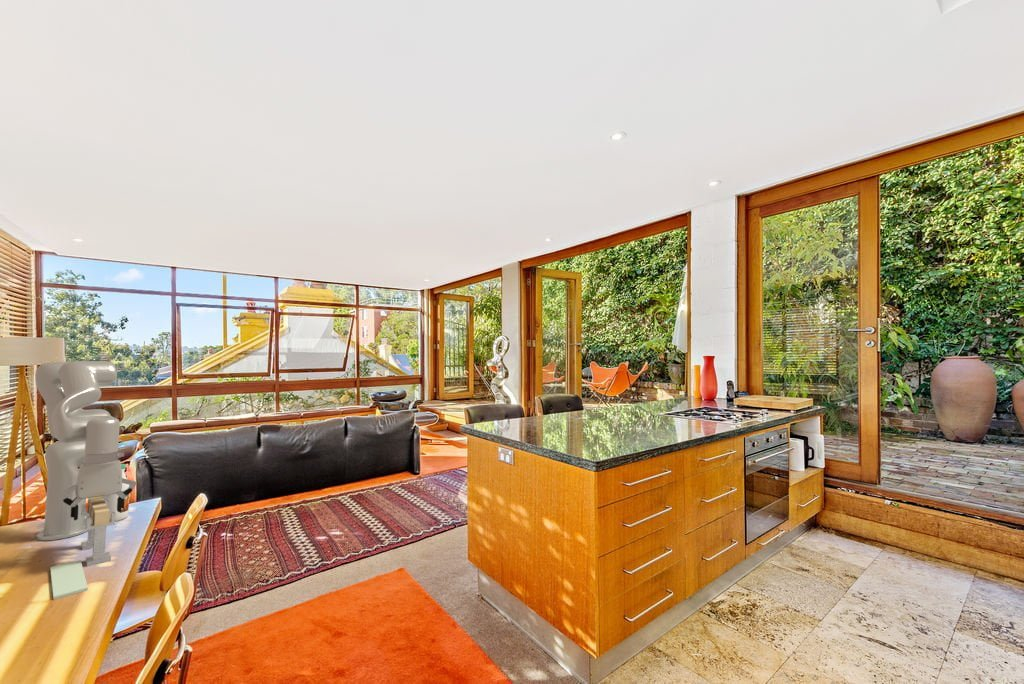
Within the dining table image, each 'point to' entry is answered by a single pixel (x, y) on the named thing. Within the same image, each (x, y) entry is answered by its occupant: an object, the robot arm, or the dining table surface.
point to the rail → (98, 511)
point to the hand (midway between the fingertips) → (97, 515)
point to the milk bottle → (113, 500)
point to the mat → (68, 579)
